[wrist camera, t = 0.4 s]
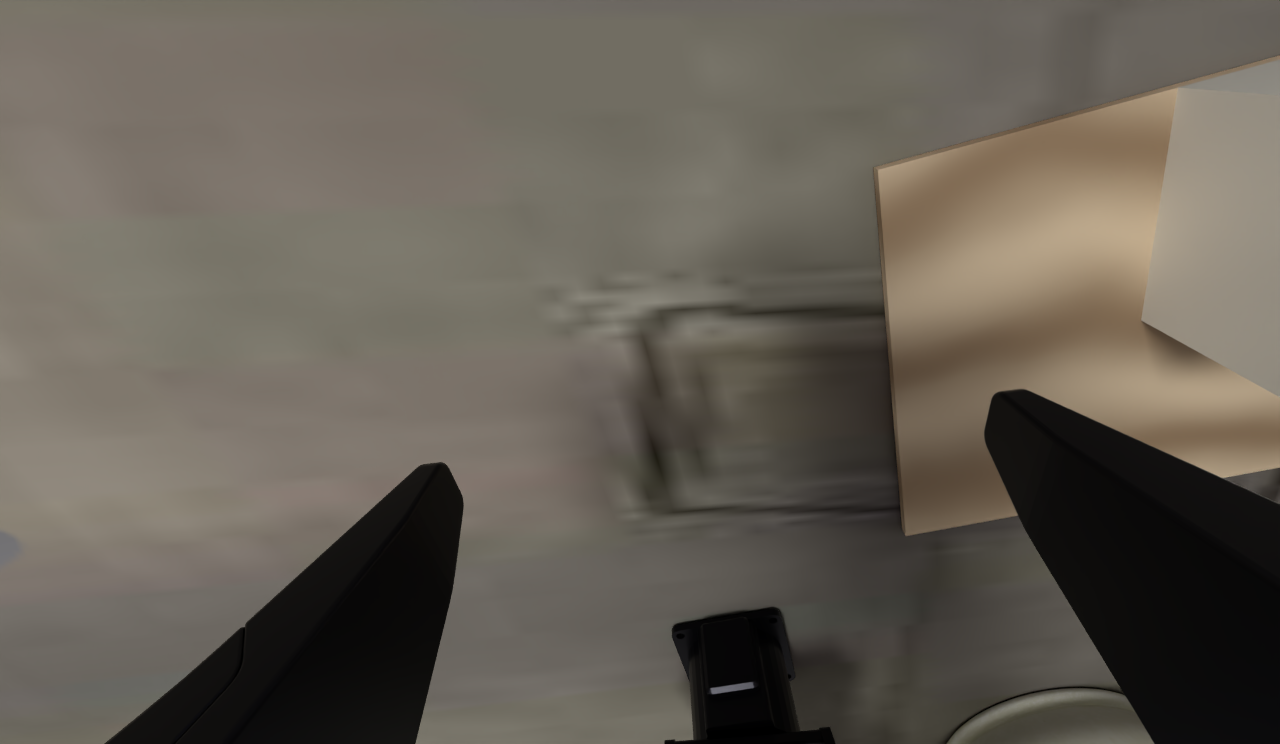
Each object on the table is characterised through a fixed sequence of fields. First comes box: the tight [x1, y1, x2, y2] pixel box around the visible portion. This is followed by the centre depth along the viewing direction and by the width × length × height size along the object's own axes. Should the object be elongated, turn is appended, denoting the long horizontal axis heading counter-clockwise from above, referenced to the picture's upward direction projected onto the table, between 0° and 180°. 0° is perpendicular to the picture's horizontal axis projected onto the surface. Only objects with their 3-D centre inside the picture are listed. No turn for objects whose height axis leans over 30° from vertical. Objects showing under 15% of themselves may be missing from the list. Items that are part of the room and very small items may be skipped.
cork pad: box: [873, 55, 1280, 536], centre depth 24 cm, size 19×19×1 cm
